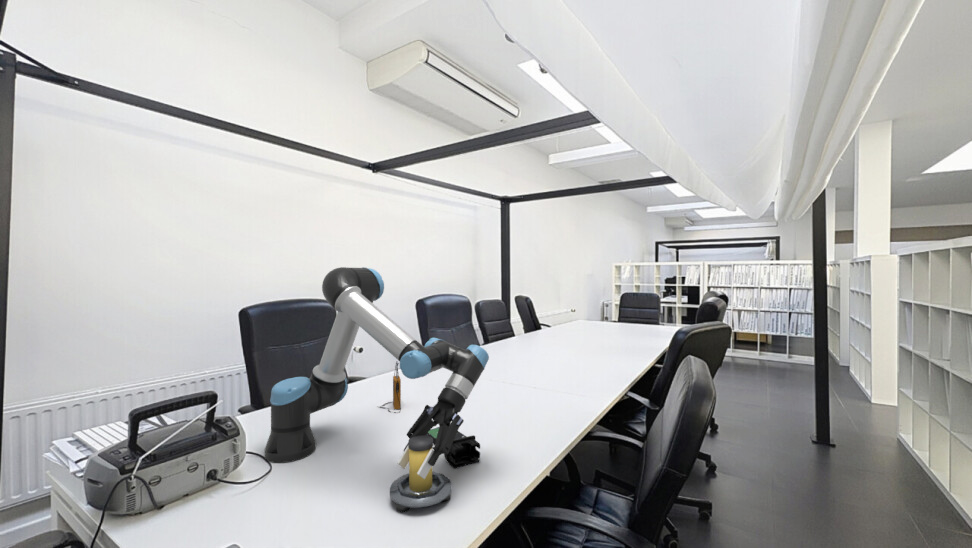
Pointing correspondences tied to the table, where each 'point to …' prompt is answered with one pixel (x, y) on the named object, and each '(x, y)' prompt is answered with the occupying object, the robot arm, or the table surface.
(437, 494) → the grey round dish
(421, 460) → the capped yellow cylinder
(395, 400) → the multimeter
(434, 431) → the disk drive
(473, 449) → the end cap
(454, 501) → the table surface
